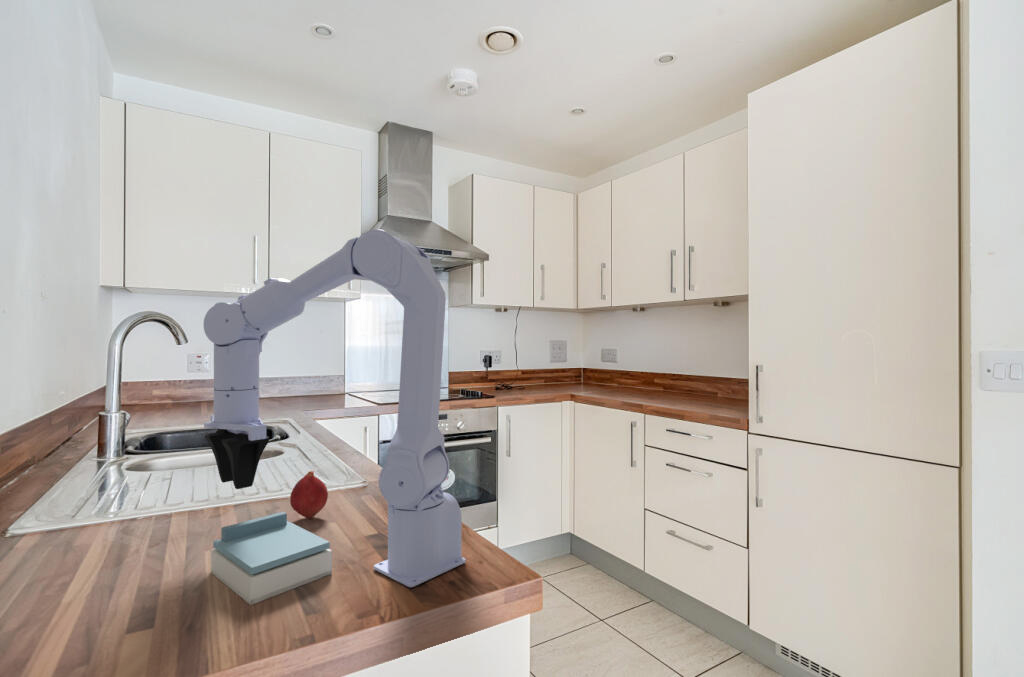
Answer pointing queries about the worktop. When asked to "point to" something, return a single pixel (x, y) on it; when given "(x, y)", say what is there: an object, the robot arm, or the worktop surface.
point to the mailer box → (270, 575)
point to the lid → (267, 542)
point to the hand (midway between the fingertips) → (236, 484)
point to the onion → (309, 496)
